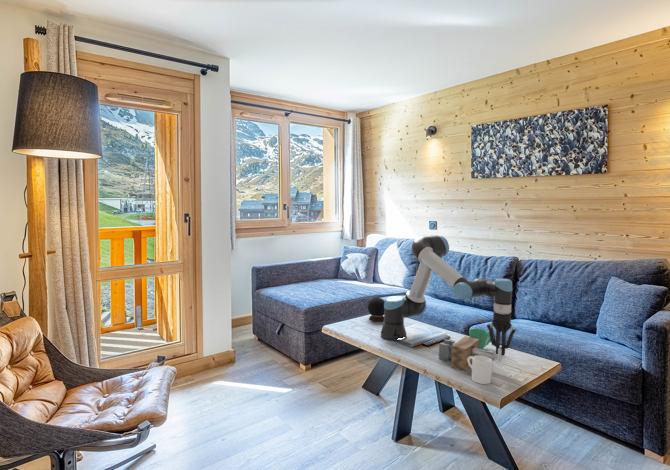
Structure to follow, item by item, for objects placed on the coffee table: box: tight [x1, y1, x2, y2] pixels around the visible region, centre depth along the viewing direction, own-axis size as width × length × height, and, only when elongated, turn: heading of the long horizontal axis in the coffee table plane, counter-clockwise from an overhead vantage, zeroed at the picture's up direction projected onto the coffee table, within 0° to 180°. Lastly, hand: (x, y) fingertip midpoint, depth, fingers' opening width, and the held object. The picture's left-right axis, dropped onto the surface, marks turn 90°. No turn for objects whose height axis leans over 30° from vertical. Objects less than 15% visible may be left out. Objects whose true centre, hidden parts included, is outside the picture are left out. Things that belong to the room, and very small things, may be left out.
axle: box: [451, 342, 496, 361], centre depth 192 cm, size 20×4×4 cm, turn 52°
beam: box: [450, 335, 479, 372], centre depth 194 cm, size 7×18×10 cm, turn 142°
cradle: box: [438, 339, 456, 362], centre depth 200 cm, size 5×8×8 cm, turn 141°
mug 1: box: [468, 328, 491, 350], centre depth 213 cm, size 15×10×10 cm
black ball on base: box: [367, 297, 385, 323], centre depth 266 cm, size 13×13×15 cm
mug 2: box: [467, 356, 493, 385], centre depth 177 cm, size 8×12×10 cm
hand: (499, 361), depth 184 cm, fingers closed
